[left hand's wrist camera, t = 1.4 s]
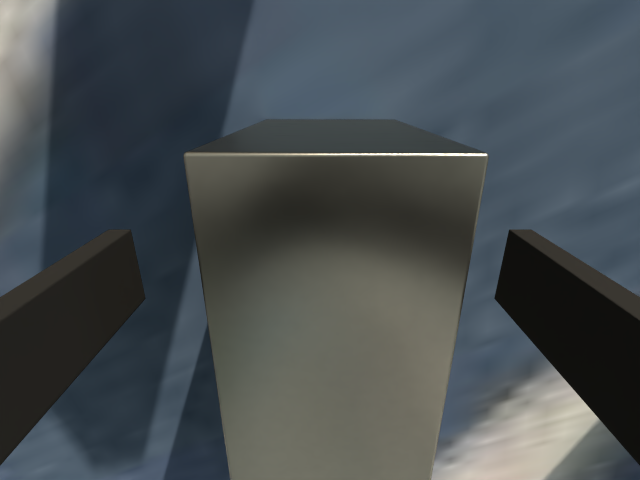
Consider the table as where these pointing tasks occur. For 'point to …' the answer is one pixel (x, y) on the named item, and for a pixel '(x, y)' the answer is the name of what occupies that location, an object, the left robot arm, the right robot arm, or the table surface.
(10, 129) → the table surface
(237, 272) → the box
